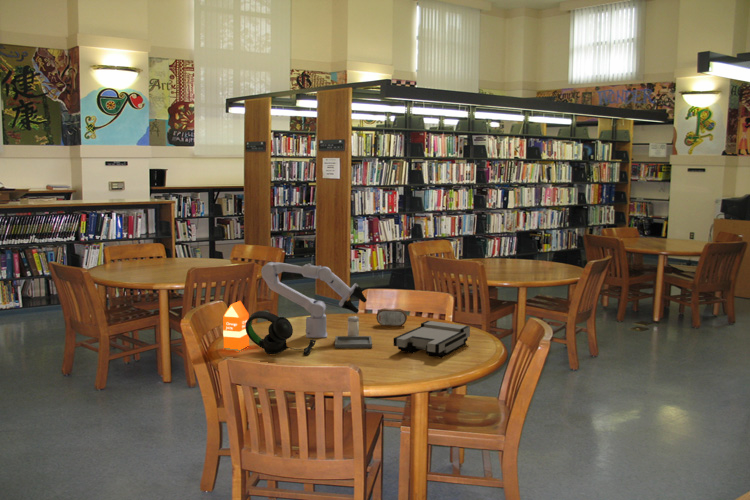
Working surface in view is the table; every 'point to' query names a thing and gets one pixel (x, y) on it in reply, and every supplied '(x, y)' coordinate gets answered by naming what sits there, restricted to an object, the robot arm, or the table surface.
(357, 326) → the cylinder
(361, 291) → the robot arm
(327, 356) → the table surface
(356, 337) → the tray
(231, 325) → the orange juice
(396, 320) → the tin
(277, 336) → the headset
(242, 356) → the table surface
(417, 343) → the game console
